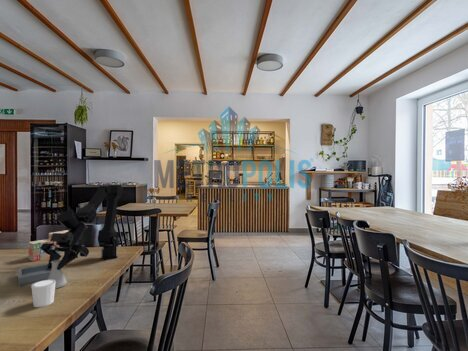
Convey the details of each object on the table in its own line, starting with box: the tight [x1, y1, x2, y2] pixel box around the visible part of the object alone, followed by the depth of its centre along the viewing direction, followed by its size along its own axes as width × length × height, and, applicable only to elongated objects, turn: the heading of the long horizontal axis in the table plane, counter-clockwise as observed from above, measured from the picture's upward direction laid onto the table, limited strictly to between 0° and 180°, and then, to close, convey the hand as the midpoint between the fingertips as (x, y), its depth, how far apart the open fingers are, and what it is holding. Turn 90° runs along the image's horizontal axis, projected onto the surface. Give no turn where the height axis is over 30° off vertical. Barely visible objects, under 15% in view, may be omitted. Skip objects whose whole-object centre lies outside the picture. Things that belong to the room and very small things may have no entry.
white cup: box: [31, 279, 56, 308], centre depth 90 cm, size 7×7×7 cm
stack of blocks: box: [28, 229, 78, 262], centre depth 141 cm, size 21×6×12 cm, turn 145°
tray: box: [17, 263, 51, 287], centre depth 112 cm, size 13×13×3 cm
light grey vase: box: [48, 259, 68, 290], centre depth 103 cm, size 7×7×10 cm
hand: (53, 269), depth 102 cm, fingers open, 4 cm apart
